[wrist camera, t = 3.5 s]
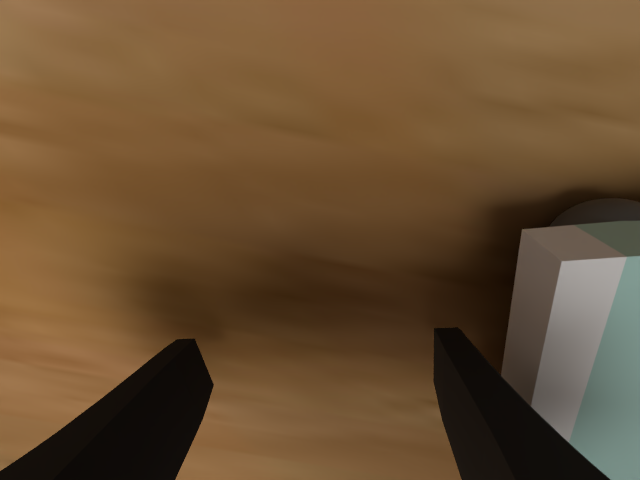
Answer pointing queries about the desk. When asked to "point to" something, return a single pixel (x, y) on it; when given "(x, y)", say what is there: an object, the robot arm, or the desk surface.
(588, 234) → the mint green block
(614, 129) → the desk surface
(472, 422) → the robot arm
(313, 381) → the desk surface
